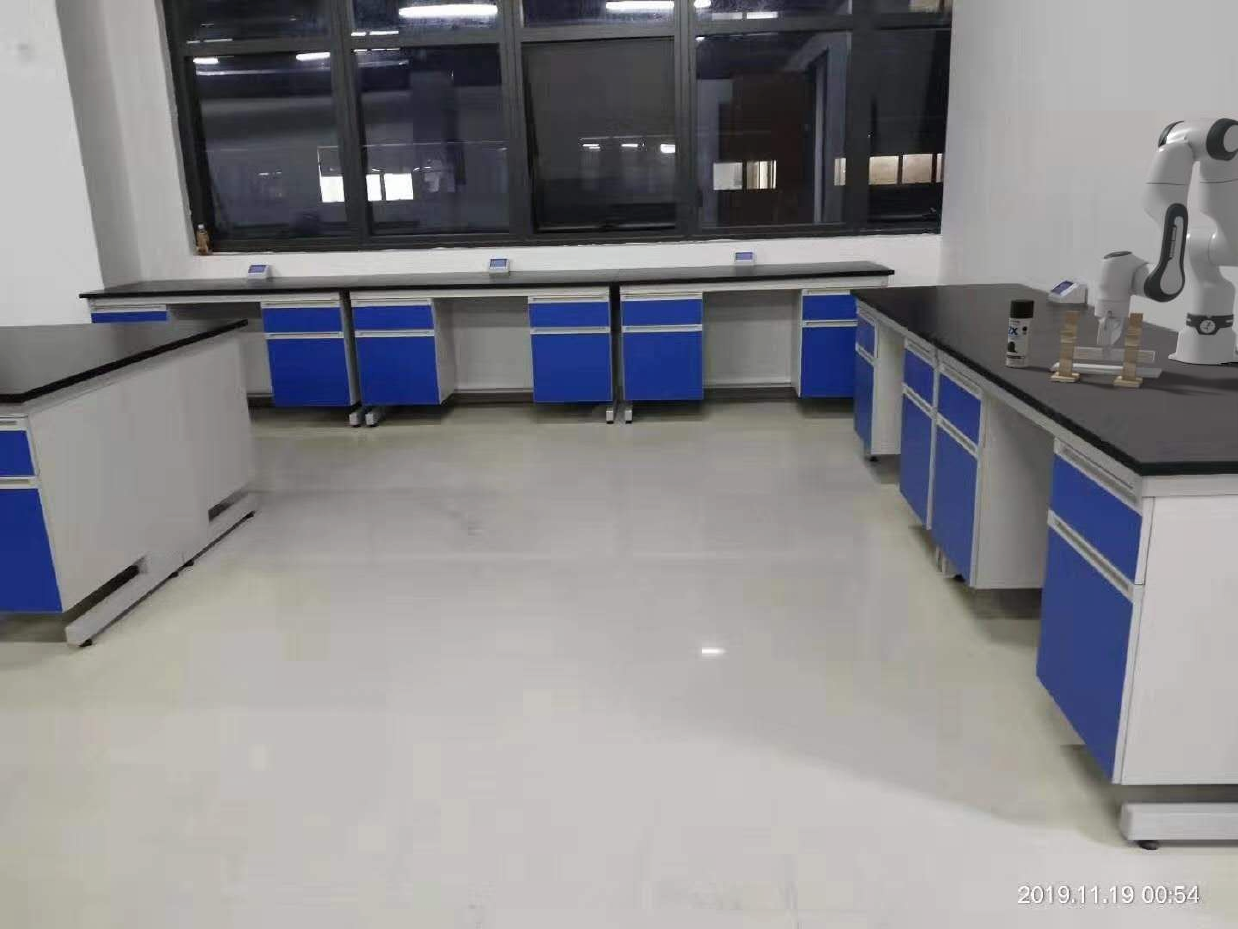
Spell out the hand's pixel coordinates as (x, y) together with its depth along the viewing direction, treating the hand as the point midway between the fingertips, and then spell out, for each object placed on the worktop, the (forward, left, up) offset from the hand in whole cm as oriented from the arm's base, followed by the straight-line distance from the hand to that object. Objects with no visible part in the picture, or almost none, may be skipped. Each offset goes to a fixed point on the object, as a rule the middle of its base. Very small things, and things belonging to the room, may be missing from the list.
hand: (1106, 357), depth 275 cm
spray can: (+1, -24, -4) cm, 25 cm away
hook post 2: (+16, +8, -4) cm, 18 cm away
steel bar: (0, 0, -1) cm, 1 cm away
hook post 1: (+16, -8, -4) cm, 18 cm away
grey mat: (0, 0, -4) cm, 4 cm away
